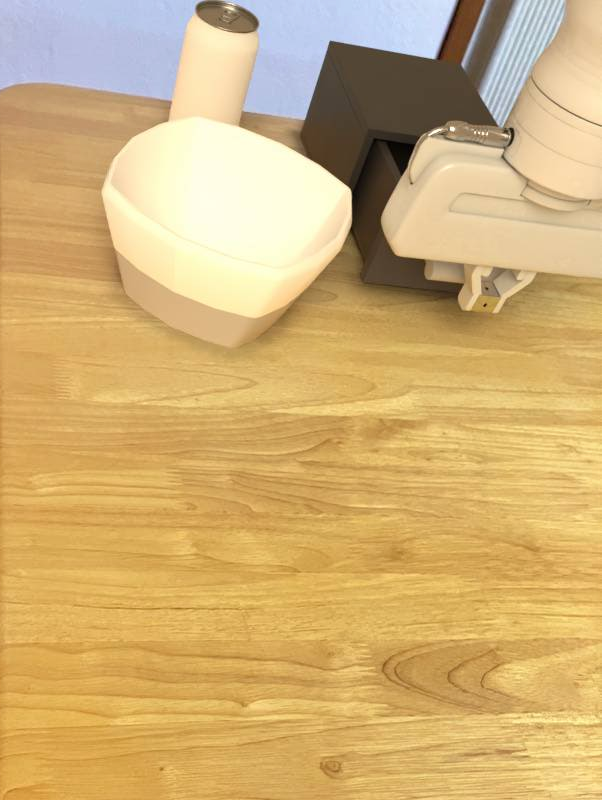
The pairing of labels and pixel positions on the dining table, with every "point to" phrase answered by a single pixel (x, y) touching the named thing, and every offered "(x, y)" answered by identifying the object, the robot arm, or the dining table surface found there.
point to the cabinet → (382, 104)
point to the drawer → (367, 210)
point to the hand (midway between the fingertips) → (476, 307)
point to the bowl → (220, 226)
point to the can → (216, 62)
